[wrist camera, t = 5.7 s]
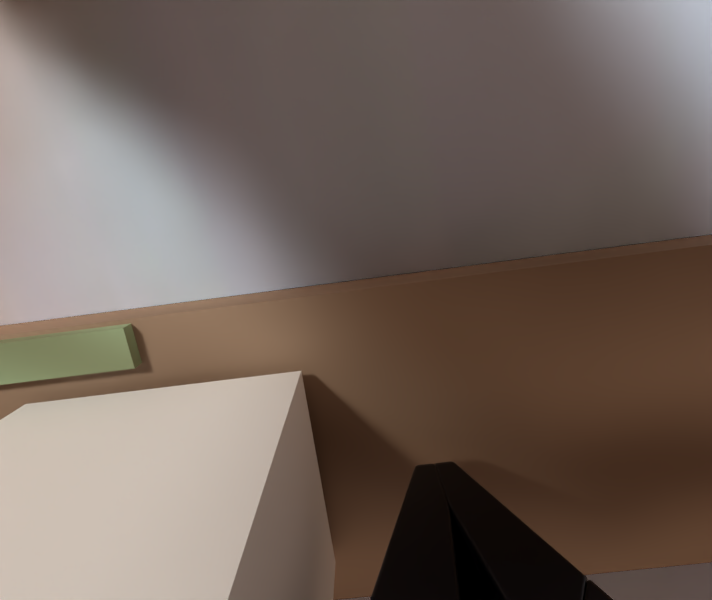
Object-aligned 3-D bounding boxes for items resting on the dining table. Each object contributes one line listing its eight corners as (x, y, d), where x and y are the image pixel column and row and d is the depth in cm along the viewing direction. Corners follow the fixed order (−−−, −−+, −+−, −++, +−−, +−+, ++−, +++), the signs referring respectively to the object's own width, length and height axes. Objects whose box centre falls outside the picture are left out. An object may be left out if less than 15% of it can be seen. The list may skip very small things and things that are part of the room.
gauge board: (748, 540, 11) (1360, 1081, 4) (-87, 625, 12) (-663, 1183, 5) (790, 224, 9) (2113, 314, 2) (-228, 355, 10) (-1508, 705, 3)
